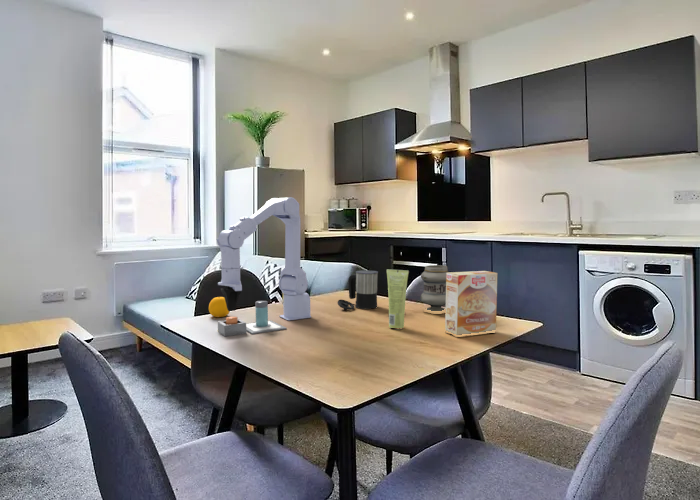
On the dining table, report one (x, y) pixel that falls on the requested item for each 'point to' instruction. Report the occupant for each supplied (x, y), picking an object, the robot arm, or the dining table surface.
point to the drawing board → (271, 327)
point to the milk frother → (362, 290)
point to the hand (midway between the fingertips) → (231, 310)
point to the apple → (218, 307)
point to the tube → (397, 296)
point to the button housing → (232, 328)
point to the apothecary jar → (434, 286)
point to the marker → (261, 313)
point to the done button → (231, 320)
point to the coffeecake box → (471, 302)
